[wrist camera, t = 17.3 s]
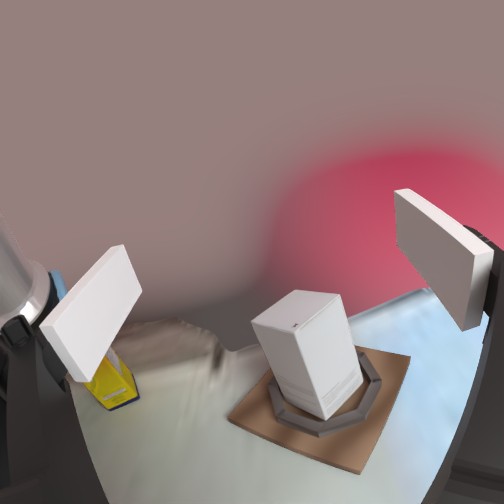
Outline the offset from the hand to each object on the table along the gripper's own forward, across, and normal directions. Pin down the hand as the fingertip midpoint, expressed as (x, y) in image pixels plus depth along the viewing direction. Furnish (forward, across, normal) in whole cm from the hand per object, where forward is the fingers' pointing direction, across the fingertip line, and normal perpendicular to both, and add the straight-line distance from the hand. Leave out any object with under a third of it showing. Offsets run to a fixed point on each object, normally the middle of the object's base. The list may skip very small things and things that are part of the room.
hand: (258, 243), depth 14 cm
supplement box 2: (+12, +2, -26) cm, 29 cm away
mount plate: (+13, +2, -28) cm, 31 cm away
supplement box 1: (+16, -29, -28) cm, 43 cm away
